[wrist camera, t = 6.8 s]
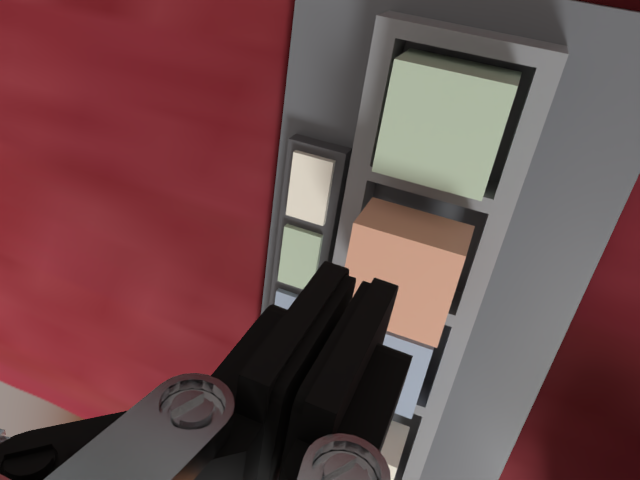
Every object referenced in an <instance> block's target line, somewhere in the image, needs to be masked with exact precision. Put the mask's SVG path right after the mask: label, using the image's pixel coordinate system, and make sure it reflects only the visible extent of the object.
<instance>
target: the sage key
mask: <svg viewBox="0 0 640 480" xmlns="http://www.w3.org/2000/svg"><path fill="white" fill-rule="evenodd" d="M521 74H522V72H520V71H515V70H510V69H506V68H501V67H496V66H492V65H487V64H482V63H478V62H473V61H468V60H464V59H459V58H454V57H449V56H445V55H440V54H435V53H431V52H426V51H421V50H417V49H412V48H410V49H408V50H407V51H405V52H404V53H402V54H401V55H399V56H398V57H396V58H395V59H394V62H393V67H392V72H391V77H390V82H389V87H388V92H387V97H386V102H385V107H384V112H383V117H382V122H381V127H380V132H379V137H378V142H377V147H376V152H375V157H374V162H373V167H372V172H376V173H379V174H383V175H387V176H390V177H394V178H398V179H401V180H405V181H409V182H412V183H416V184H420V185H423V186H427V187H431V188H434V189H438V190H442V191H445V192H449V193H453V194H456V195H460V196H464V197H467V198H471V199H475V200H478V201H482V199H483V196H484V193H485V189H486V186H487V183H488V180H489V177H490V174H491V170H492V167H493V164H494V161H495V158H496V155H497V151H498V148H499V145H500V142H501V139H502V136H503V133H504V129H505V126H506V123H507V120H508V117H509V114H510V110H511V107H512V104H513V101H514V98H515V95H516V91H517V88H518V85H519V81H520V77H521Z"/></svg>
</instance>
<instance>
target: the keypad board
mask: <svg viewBox="0 0 640 480" xmlns="http://www.w3.org/2000/svg"><path fill="white" fill-rule="evenodd" d="M410 48H412V49H417V50H421V51H426V52H431V53H435V54H440V55H445V56H449V57H454V58H459V59H464V60H468V61H473V62H478V63H482V64H487V65H492V66H496V67H501V68H506V69H510V70H515V71H520V72H522V74H521V77H520V81H519V85H518V88H517V91H516V95H515V98H514V101H513V104H512V107H511V110H510V114H509V117H508V120H507V123H506V126H505V129H504V133H503V136H502V139H501V142H500V145H499V148H498V151H497V155H496V158H495V161H494V164H493V167H492V170H491V174H490V177H489V180H488V183H487V186H486V189H485V193H484V196H483V199H482V201H478V200H475V199H471V198H467V197H464V196H460V195H456V194H453V193H449V192H445V191H442V190H438V189H434V188H431V187H427V186H423V185H420V184H416V183H412V182H409V181H405V180H401V179H398V178H394V177H390V176H387V175H383V174H379V173H376V172H372V167H373V162H374V157H375V152H376V147H377V142H378V137H379V132H380V127H381V122H382V117H383V112H384V107H385V102H386V97H387V92H388V87H389V82H390V77H391V72H392V67H393V62H394V59H395V58H396V57H398V56H399V55H401V54H402V53H404V52H405V51H407V50H408V49H410ZM639 173H640V12H638V11H633V10H627V9H622V8H616V7H611V6H605V5H599V4H594V3H588V2H583V1H577V0H295V7H294V17H293V26H292V35H291V44H290V53H289V62H288V71H287V81H286V90H285V99H284V108H283V117H282V126H281V135H280V145H279V154H278V163H277V172H276V181H275V190H274V199H273V209H272V218H271V227H270V236H269V245H268V254H267V263H266V273H265V282H264V291H263V300H262V309H261V314H262V313H263V312H264V311H265V309H266V308H267V307H268V306H269V305H272V304H274V305H277V306H279V307H282V308H285V309H287V310H288V308H289V307H290V306H291V305H292V303H293V302H294V301H295V299H296V298H297V297H298V295H299V294H300V293H301V291H302V290H303V289H304V287H305V286H306V285H307V283H308V282H309V281H310V279H311V278H312V277H313V275H314V274H315V273H316V271H317V270H318V269H319V267H320V266H321V265H322V263H323V262H324V261H328V262H331V263H334V264H337V265H340V266H343V267H345V263H346V258H347V252H348V247H349V242H350V237H351V232H352V226H353V222H354V221H355V220H356V218H357V217H358V216H359V214H360V213H361V212H362V210H363V209H364V208H365V206H366V205H367V204H368V202H369V201H370V200H371V198H372V197H374V198H378V199H381V200H385V201H388V202H392V203H395V204H399V205H402V206H406V207H409V208H413V209H416V210H420V211H423V212H427V213H430V214H434V215H437V216H441V217H444V218H448V219H451V220H455V221H458V222H462V223H466V224H469V225H473V226H475V228H474V231H473V235H472V238H471V242H470V245H469V249H468V252H467V256H466V259H465V262H464V265H463V268H462V271H461V275H460V278H459V281H458V284H457V287H456V290H455V293H454V296H453V300H452V303H451V306H450V309H449V312H448V315H447V318H446V322H445V325H444V328H443V331H442V334H441V337H440V340H439V344H438V347H437V348H435V347H434V350H433V353H432V356H431V359H430V362H429V365H428V369H427V372H426V375H425V378H424V381H423V384H422V388H421V391H420V394H419V397H418V400H417V404H416V407H415V410H414V413H413V416H412V419H409V418H406V417H404V416H401V415H399V414H396V413H394V416H393V418H392V421H395V422H398V423H400V424H403V425H406V426H408V427H410V429H409V432H408V435H407V439H406V442H405V445H404V449H403V452H402V455H401V458H400V462H399V465H398V468H397V472H396V475H395V478H394V480H498V479H499V477H500V475H501V473H502V471H503V469H504V466H505V464H506V462H507V460H508V458H509V456H510V453H511V451H512V449H513V447H514V445H515V442H516V440H517V438H518V436H519V434H520V432H521V429H522V427H523V425H524V423H525V421H526V419H527V416H528V414H529V412H530V410H531V408H532V406H533V403H534V401H535V399H536V397H537V395H538V392H539V390H540V388H541V386H542V384H543V382H544V379H545V377H546V375H547V373H548V371H549V369H550V366H551V364H552V362H553V360H554V358H555V356H556V353H557V351H558V349H559V347H560V345H561V343H562V340H563V338H564V336H565V334H566V332H567V329H568V327H569V325H570V323H571V321H572V319H573V316H574V314H575V312H576V310H577V308H578V306H579V303H580V301H581V299H582V297H583V295H584V293H585V290H586V288H587V286H588V284H589V282H590V279H591V277H592V275H593V273H594V271H595V269H596V266H597V264H598V262H599V260H600V258H601V256H602V253H603V251H604V249H605V247H606V245H607V243H608V240H609V238H610V236H611V234H612V232H613V230H614V227H615V225H616V223H617V221H618V219H619V216H620V214H621V212H622V210H623V208H624V206H625V203H626V201H627V199H628V197H629V195H630V193H631V190H632V188H633V186H634V184H635V182H636V180H637V177H638V175H639Z"/></svg>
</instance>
